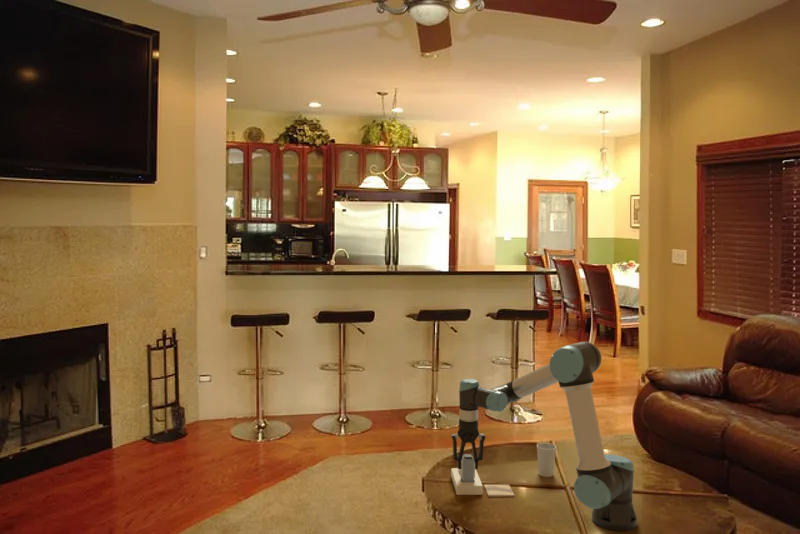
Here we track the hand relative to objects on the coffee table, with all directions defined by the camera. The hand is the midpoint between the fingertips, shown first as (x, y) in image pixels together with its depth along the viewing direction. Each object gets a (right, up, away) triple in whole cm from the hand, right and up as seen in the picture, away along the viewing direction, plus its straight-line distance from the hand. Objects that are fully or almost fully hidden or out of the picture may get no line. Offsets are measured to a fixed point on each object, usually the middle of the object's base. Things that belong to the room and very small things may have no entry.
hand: (467, 476), depth 257 cm
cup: (+34, -4, +16) cm, 38 cm away
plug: (0, -5, 0) cm, 5 cm away
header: (0, -4, +3) cm, 6 cm away
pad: (+12, -5, -2) cm, 13 cm away
